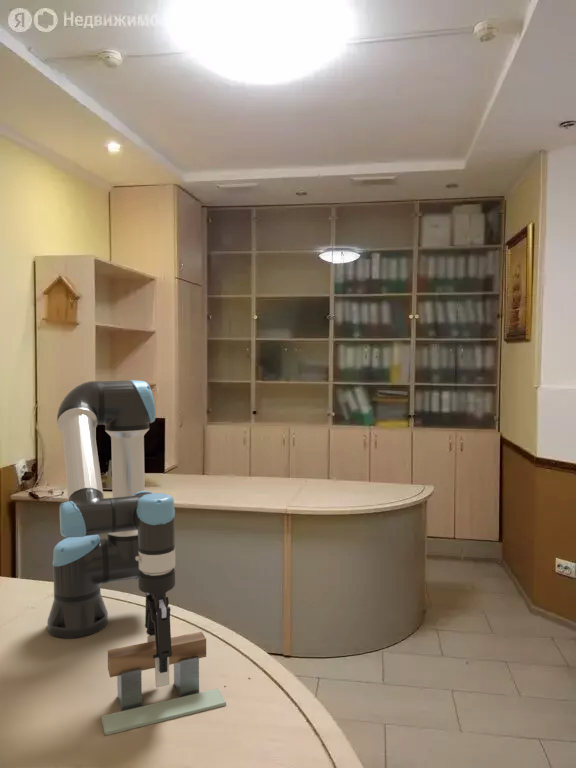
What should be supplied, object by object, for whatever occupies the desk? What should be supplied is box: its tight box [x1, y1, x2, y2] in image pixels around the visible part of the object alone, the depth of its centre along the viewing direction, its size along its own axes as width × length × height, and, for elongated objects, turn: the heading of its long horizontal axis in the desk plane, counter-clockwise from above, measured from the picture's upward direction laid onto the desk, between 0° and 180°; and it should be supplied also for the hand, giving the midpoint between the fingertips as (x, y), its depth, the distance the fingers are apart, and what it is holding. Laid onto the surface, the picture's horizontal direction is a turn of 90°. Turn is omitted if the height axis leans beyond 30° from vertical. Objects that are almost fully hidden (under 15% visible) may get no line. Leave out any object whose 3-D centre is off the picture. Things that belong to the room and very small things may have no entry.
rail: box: [107, 631, 207, 678], centre depth 126 cm, size 4×20×4 cm, turn 114°
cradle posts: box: [116, 656, 200, 712], centre depth 126 cm, size 6×16×8 cm, turn 114°
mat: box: [101, 688, 227, 736], centre depth 120 cm, size 6×24×1 cm, turn 114°
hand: (158, 674), depth 126 cm, fingers open, 8 cm apart
